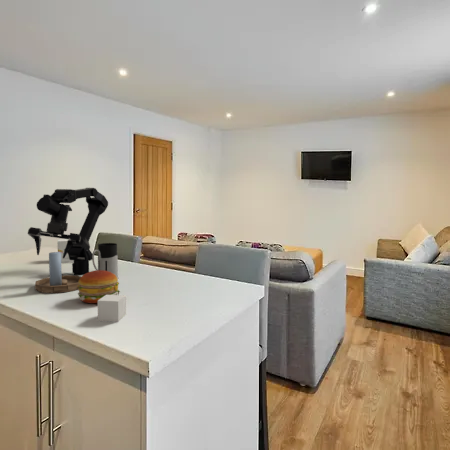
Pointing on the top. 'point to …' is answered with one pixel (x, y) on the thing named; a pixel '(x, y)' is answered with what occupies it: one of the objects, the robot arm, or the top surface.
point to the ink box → (61, 248)
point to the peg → (55, 269)
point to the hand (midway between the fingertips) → (50, 256)
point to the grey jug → (107, 258)
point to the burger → (97, 285)
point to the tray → (67, 285)
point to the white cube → (112, 308)
